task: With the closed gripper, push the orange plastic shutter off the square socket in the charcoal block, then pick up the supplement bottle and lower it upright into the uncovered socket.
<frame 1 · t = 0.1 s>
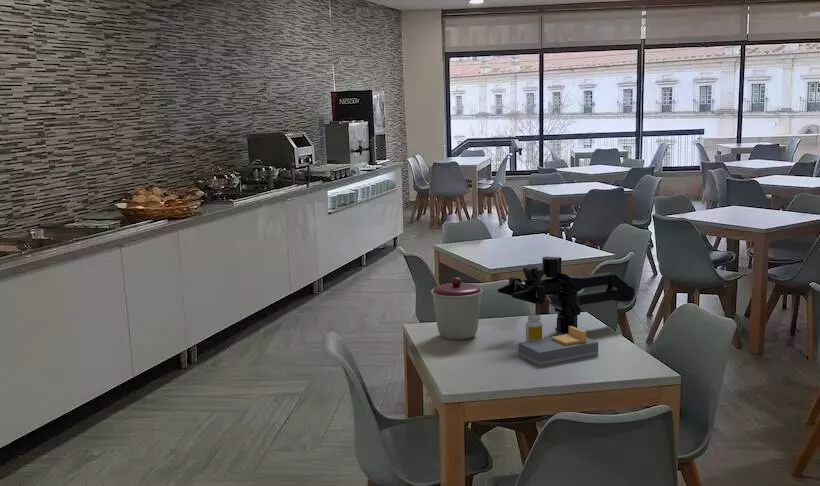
hand: (505, 293, 258), 17 cm above the table, tool horizontal, fingers open, 9 cm apart
supplement bottle: (534, 344, 256), on the table
canister: (457, 336, 268), on the table
shutter: (568, 335, 244), point 6 cm above the table, slide at 0.0 cm
socket block: (558, 354, 243), on the table
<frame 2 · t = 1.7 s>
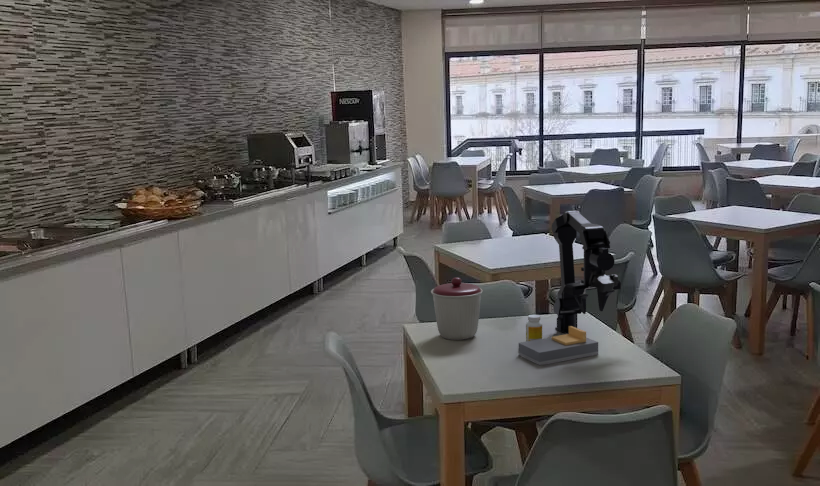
hand: (592, 312, 246), 12 cm above the table, tool pointing down, fingers open, 6 cm apart
nothing on the table moved.
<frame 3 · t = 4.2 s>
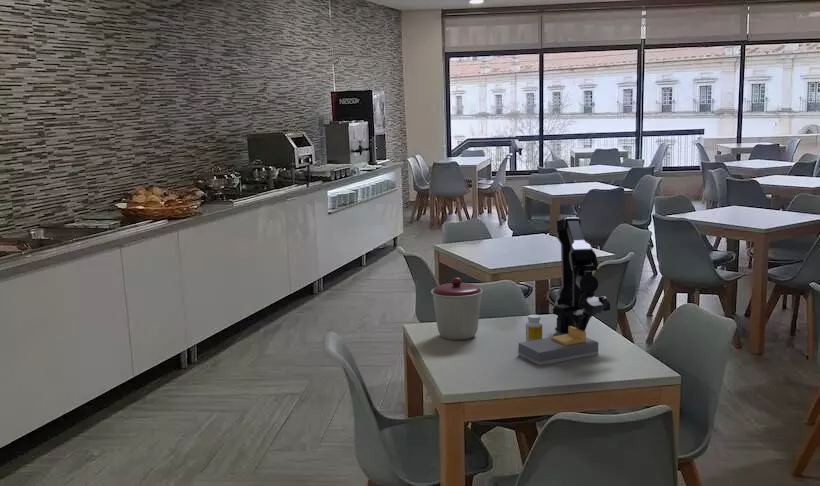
hand: (581, 333, 246), 6 cm above the table, tool pointing down, fingers closed
shutter: (568, 335, 244), point 6 cm above the table, slide at 0.1 cm, touching gripper
everything else where it was.
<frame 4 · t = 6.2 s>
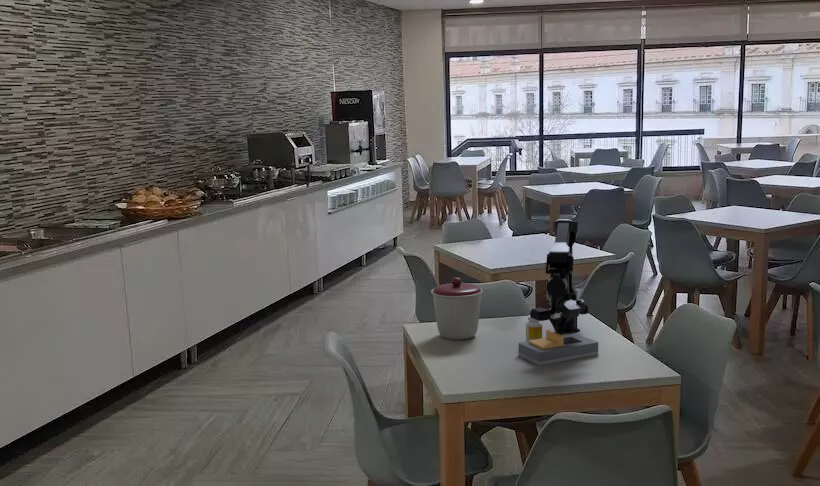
hand: (559, 337, 242), 6 cm above the table, tool pointing down, fingers closed
shutter: (545, 339, 240), point 6 cm above the table, slide at 8.6 cm, touching gripper
everything else where it was.
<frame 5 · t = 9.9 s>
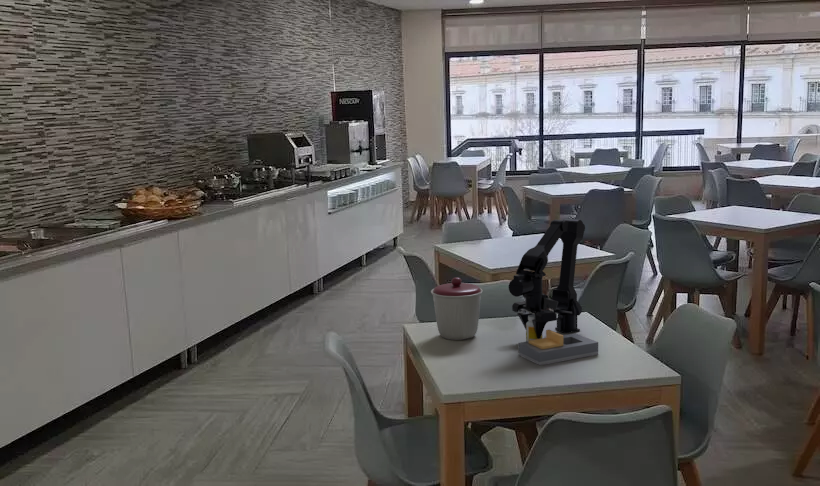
hand: (534, 336, 255), 3 cm above the table, tool pointing down, fingers closed on supplement bottle, 5 cm apart
supplement bottle: (534, 344, 256), on the table, touching gripper
shutter: (545, 339, 240), point 6 cm above the table, slide at 8.7 cm
everything else where it was.
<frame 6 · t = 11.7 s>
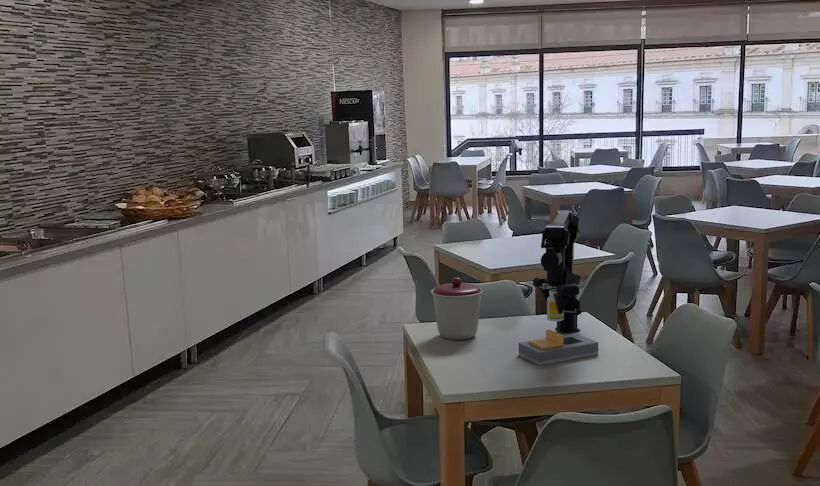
hand: (555, 311, 246), 13 cm above the table, tool pointing down, fingers closed on supplement bottle, 5 cm apart
supplement bottle: (555, 320, 247), point 10 cm above the table, touching gripper
everything else where it was.
when the fingers open (5 cm above the table, at t = 13.6 s): supplement bottle drops 1 cm, resting on socket block.
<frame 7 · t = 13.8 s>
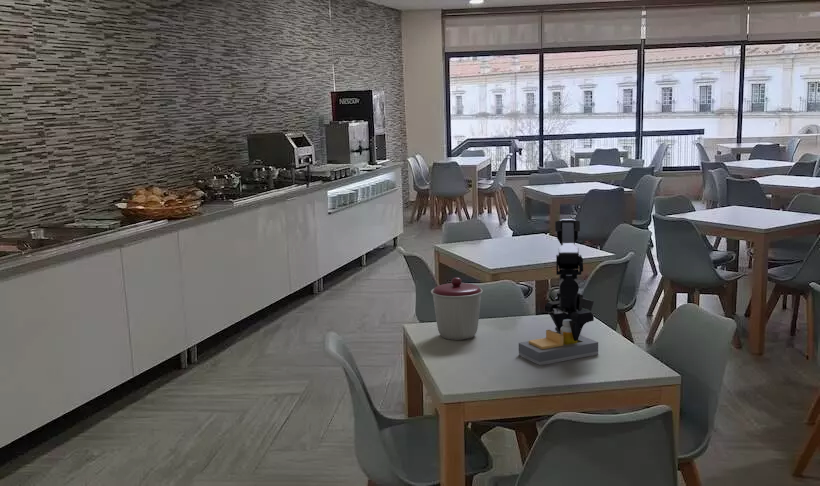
hand: (568, 337, 244), 5 cm above the table, tool pointing down, fingers open, 7 cm apart
supplement bottle: (568, 350, 244), point 1 cm above the table, touching socket block
everything else where it was.
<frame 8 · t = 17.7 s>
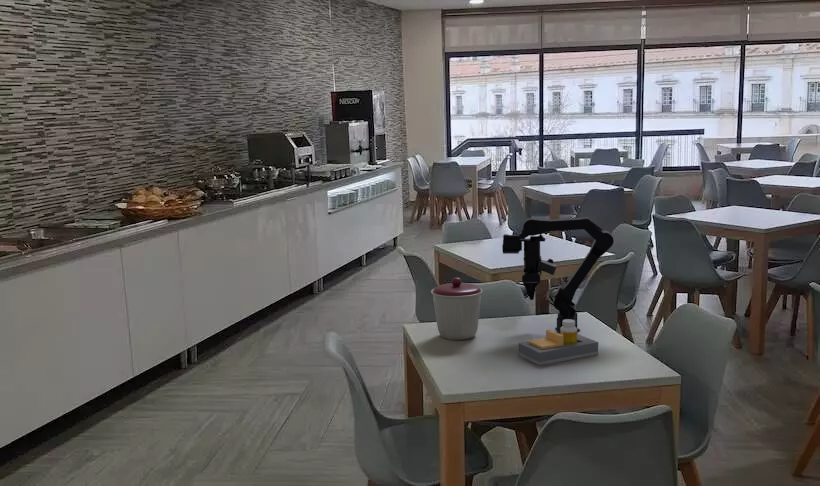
hand: (532, 296, 271), 12 cm above the table, tool pointing down, fingers open, 9 cm apart
nothing on the table moved.
at the end: supplement bottle 0.0 cm from the target spot, point 0.8 cm above the table; supplement bottle tilted 0°; shutter slide at 8.7 cm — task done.
